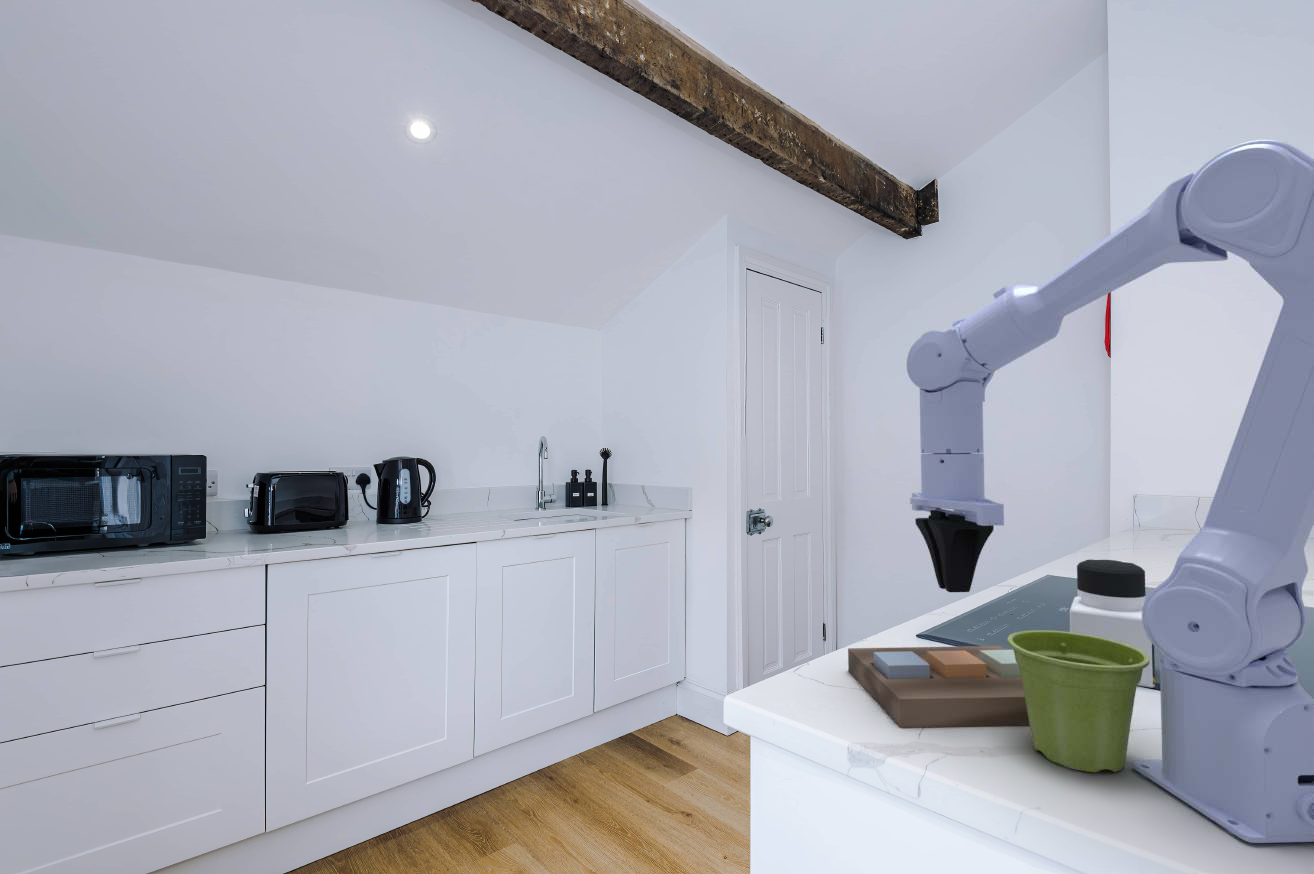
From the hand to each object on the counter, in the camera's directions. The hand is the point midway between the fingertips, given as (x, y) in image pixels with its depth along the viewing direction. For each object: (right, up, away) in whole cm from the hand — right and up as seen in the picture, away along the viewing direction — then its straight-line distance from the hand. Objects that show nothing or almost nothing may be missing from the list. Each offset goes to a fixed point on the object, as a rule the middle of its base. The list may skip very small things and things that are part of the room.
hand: (954, 589), depth 62 cm
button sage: (+6, -9, 0) cm, 11 cm away
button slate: (-5, -9, 0) cm, 11 cm away
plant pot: (+4, -10, -12) cm, 17 cm away
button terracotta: (0, -9, 0) cm, 9 cm away
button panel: (0, -10, 0) cm, 10 cm away
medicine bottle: (+20, -11, +6) cm, 23 cm away
